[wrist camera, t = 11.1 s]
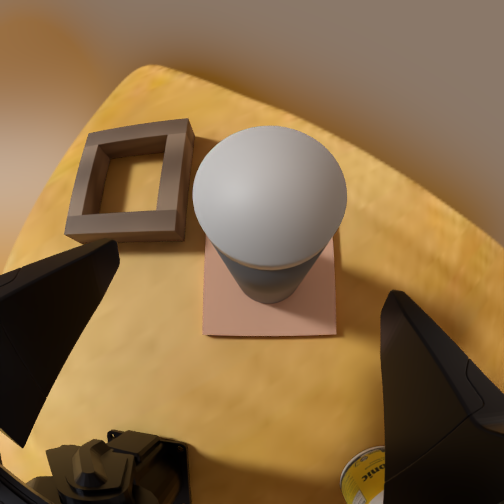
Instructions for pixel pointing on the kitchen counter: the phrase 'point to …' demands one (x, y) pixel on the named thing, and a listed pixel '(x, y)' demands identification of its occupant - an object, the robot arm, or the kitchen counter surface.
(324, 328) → the terracotta tile
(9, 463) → the kitchen counter surface
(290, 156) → the grey cylinder
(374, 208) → the kitchen counter surface
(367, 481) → the supplement bottle
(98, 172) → the walnut collar
